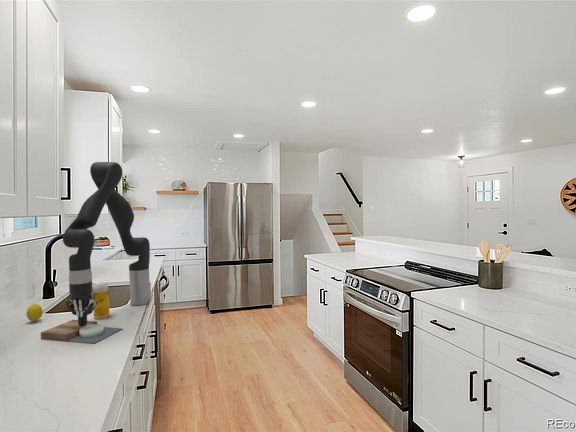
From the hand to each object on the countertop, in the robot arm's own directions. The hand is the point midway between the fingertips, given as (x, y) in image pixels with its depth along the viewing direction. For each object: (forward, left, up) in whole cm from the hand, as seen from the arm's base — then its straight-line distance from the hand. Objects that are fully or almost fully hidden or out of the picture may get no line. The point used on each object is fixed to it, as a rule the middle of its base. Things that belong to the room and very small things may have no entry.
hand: (82, 325), depth 128 cm
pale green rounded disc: (0, +4, -3) cm, 5 cm away
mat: (0, +6, -3) cm, 7 cm away
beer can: (-18, -8, -4) cm, 20 cm away
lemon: (-8, -33, -4) cm, 34 cm away
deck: (0, -6, -3) cm, 7 cm away
